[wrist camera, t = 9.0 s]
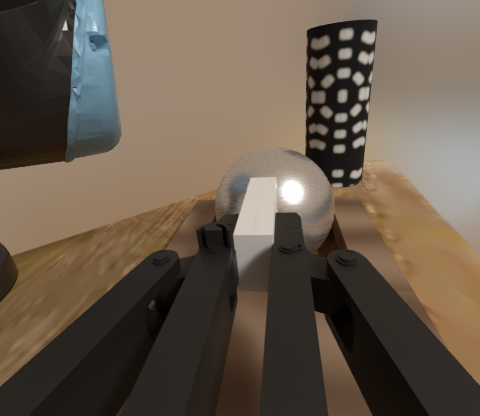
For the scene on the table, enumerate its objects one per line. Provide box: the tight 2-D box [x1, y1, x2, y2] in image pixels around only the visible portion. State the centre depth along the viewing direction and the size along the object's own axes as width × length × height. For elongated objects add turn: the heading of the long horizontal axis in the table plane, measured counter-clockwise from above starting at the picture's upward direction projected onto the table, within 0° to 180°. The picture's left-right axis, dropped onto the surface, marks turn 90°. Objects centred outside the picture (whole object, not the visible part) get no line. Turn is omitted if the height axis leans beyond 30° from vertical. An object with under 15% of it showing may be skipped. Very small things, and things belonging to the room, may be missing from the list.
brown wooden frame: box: [116, 196, 450, 416], centre depth 19 cm, size 30×18×2 cm, turn 172°
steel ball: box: [215, 148, 335, 253], centre depth 24 cm, size 10×10×10 cm
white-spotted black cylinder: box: [305, 20, 377, 188], centre depth 40 cm, size 8×8×20 cm
